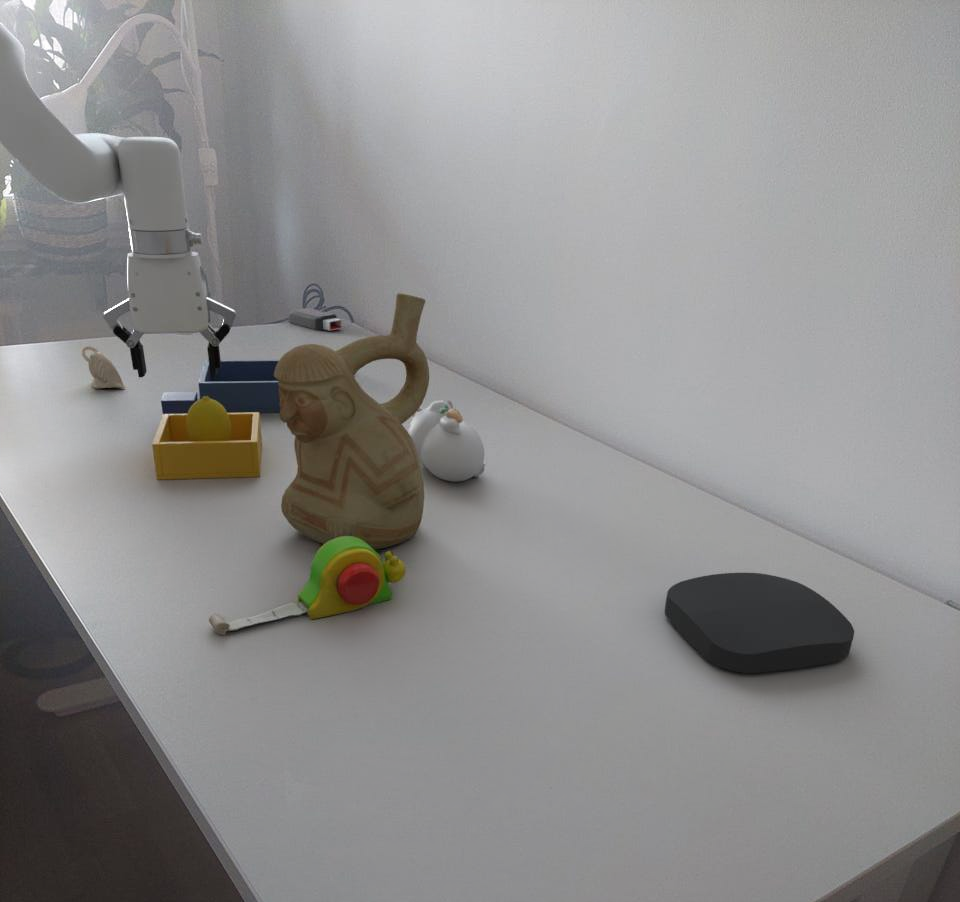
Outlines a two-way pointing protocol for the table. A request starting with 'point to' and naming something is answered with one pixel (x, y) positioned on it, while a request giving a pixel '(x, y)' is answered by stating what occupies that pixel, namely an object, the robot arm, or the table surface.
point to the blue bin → (242, 386)
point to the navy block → (178, 402)
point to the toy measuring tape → (333, 584)
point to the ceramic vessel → (354, 437)
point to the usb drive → (315, 319)
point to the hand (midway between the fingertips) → (178, 374)
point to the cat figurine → (446, 442)
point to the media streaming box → (758, 622)
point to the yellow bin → (208, 450)
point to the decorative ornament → (102, 370)
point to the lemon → (208, 421)
